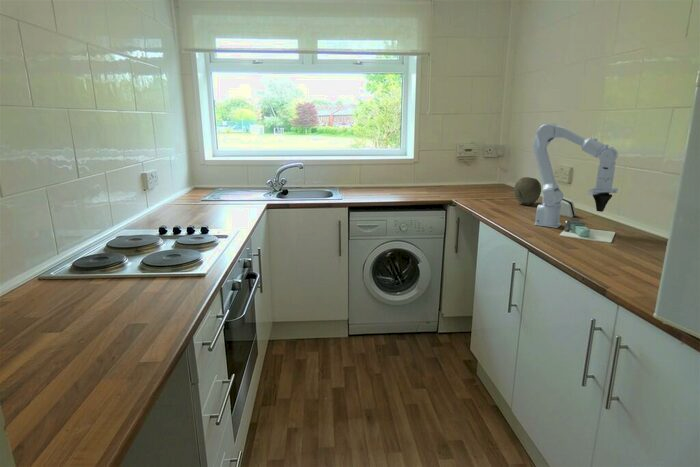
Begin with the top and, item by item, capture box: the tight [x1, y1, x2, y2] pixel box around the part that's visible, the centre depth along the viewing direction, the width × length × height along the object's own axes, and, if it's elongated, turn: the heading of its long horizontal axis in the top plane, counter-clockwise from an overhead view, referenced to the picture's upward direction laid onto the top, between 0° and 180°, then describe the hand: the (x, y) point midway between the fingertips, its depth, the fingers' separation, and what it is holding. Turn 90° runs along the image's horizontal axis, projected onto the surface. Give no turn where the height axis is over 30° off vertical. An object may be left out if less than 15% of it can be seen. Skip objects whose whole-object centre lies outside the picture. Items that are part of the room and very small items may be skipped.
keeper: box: [563, 220, 586, 232], centre depth 175 cm, size 7×2×4 cm, turn 67°
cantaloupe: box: [513, 176, 542, 206], centre depth 234 cm, size 14×14×15 cm
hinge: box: [541, 197, 578, 218], centre depth 210 cm, size 17×5×10 cm, turn 29°
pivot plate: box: [559, 217, 616, 244], centre depth 172 cm, size 18×18×5 cm
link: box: [570, 224, 591, 237], centre depth 174 cm, size 17×5×2 cm, turn 170°
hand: (599, 211), depth 175 cm, fingers closed
